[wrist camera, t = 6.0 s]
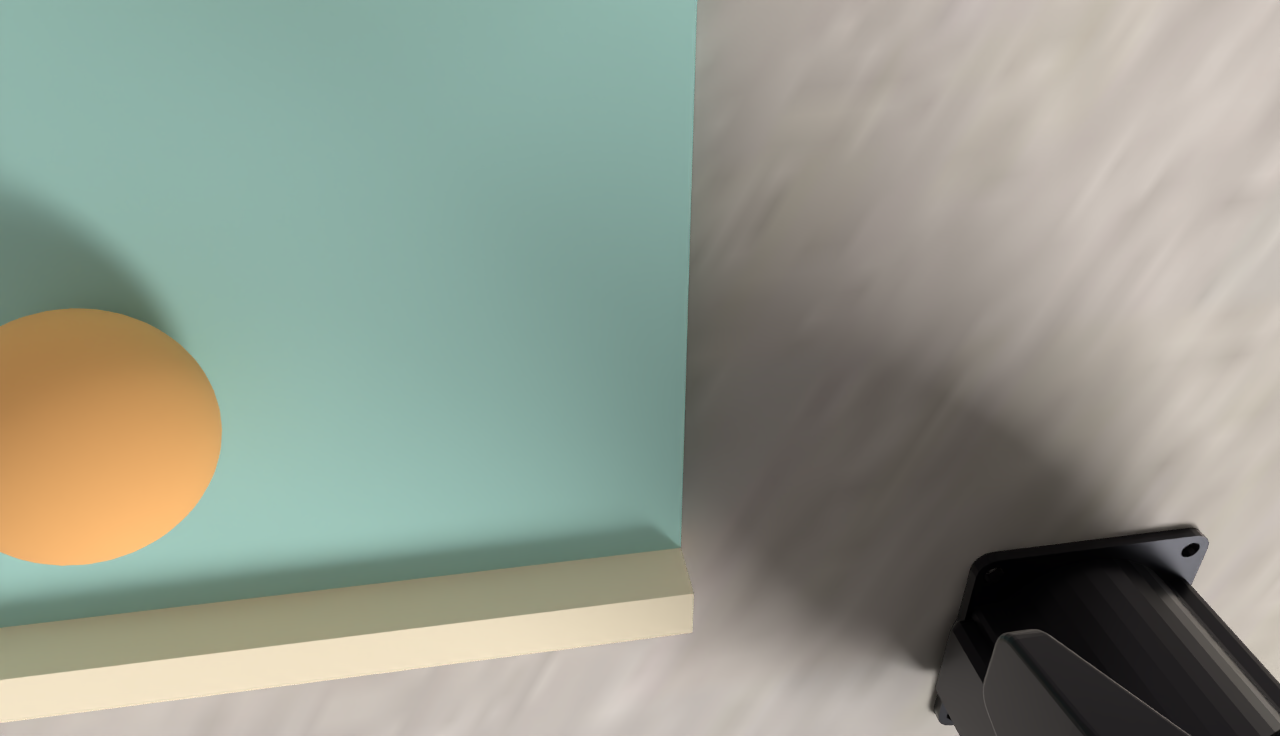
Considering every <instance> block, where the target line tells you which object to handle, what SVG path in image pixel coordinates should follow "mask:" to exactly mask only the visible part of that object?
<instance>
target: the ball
mask: <svg viewBox="0 0 1280 736" xmlns="http://www.w3.org/2000/svg"><path fill="white" fill-rule="evenodd" d="M221 439H222V423H221V415H220V409H219V405H218V402H217V399H216V396H215V392H214V390H213V388H212V386H211V384H210V382H209V380H208V378H207V376H206V374H205V372H204V371H203V370H202V368H201V367H200V365H199V364H198V363H197V361H196V360H195V359H194V358H193V357H192V356H191V355H190V354H189V353H188V352H187V351H186V350H185V349H184V348H183V347H182V346H181V345H180V344H179V343H178V342H176V341H175V340H174V339H172V338H171V337H170V336H168V335H167V334H165V333H164V332H162V331H161V330H159V329H157V328H155V327H153V326H151V325H150V324H148V323H145V322H143V321H140V320H137V319H135V318H132V317H129V316H126V315H124V314H119V313H114V312H110V311H104V310H98V309H84V308H69V309H58V310H50V311H44V312H40V313H36V314H32V315H28V316H24V317H21V318H18V319H16V320H13V321H10V322H8V323H6V324H4V325H2V326H0V552H1V553H4V554H6V555H9V556H12V557H14V558H17V559H20V560H25V561H29V562H33V563H39V564H49V565H59V566H67V565H86V564H93V563H98V562H103V561H108V560H112V559H115V558H118V557H121V556H124V555H127V554H130V553H133V552H135V551H137V550H139V549H142V548H143V547H145V546H147V545H149V544H151V543H153V542H154V541H156V540H158V539H160V538H161V537H162V536H164V535H165V534H167V533H168V532H169V531H171V530H172V529H173V528H174V527H175V526H176V525H178V524H179V523H180V522H181V521H182V520H183V519H184V518H185V517H186V516H187V515H188V514H189V513H190V512H191V511H192V509H193V508H194V507H195V506H196V504H197V503H198V502H199V500H200V499H201V497H202V496H203V494H204V492H205V491H206V489H207V487H208V485H209V484H210V482H211V479H212V477H213V475H214V472H215V469H216V466H217V463H218V459H219V455H220V450H221Z"/></svg>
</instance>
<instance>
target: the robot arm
mask: <svg viewBox="0 0 1280 736" xmlns="http://www.w3.org/2000/svg"><path fill="white" fill-rule="evenodd" d="M1187 545H1188V546H1187ZM1208 545H1209V542H1208V539H1207V538H1206V537H1205V536H1204V535H1203V534H1202V533H1201V532H1200V531H1199V530H1197V529H1196V528H1184V529H1176V530H1168V531H1160V532H1152V533H1144V534H1136V535H1128V536H1120V537H1111V538H1103V539H1095V540H1087V541H1079V542H1071V543H1063V544H1055V545H1047V546H1039V547H1031V548H1023V549H1015V550H1007V551H998V552H992V553H988V554H985V555H983V556H981V557H979V558H978V559H977V560H976V561H975V562H974V563H973V565H972V567H971V569H970V572H969V576H968V580H967V584H966V587H965V591H964V595H963V599H962V603H961V606H960V610H959V614H958V618H957V621H956V622H955V623H954V625H953V627H952V629H951V630H950V634H949V638H948V641H947V645H946V649H945V653H944V657H943V661H942V665H941V669H940V672H939V676H938V680H937V684H936V691H937V693H938V694H937V698H936V702H935V705H934V712H935V714H936V716H937V718H938V720H939V722H940V723H941V724H944V725H954V726H955V728H956V730H957V731H958V733H959V735H960V736H1280V683H1279V682H1278V681H1277V680H1276V679H1275V678H1274V677H1273V675H1272V674H1271V673H1270V672H1269V671H1268V670H1267V669H1266V668H1265V667H1264V665H1263V664H1262V663H1261V662H1260V661H1259V660H1258V659H1257V658H1256V657H1255V656H1254V654H1253V653H1252V652H1251V651H1250V650H1249V649H1248V648H1247V647H1246V646H1245V644H1244V643H1243V642H1242V641H1241V640H1240V639H1239V638H1238V637H1237V636H1236V635H1235V633H1234V632H1233V631H1232V630H1231V629H1230V628H1229V627H1228V626H1227V625H1226V623H1225V622H1224V621H1223V620H1222V619H1221V618H1220V617H1219V616H1218V615H1217V614H1216V612H1215V611H1214V610H1213V609H1212V608H1211V607H1210V606H1209V605H1208V604H1207V602H1206V601H1205V600H1204V599H1203V598H1202V597H1201V596H1200V595H1199V594H1198V593H1197V591H1196V590H1195V589H1194V588H1193V587H1192V586H1191V585H1192V582H1193V580H1194V578H1195V576H1196V573H1197V571H1198V569H1199V567H1200V564H1201V562H1202V560H1203V558H1204V555H1205V553H1206V551H1207V549H1208ZM1186 546H1187V547H1186ZM1184 547H1185V548H1184ZM994 568H996V569H995V570H994V571H993V572H991V573H988V574H987V572H988V571H990V570H991V569H994Z"/></svg>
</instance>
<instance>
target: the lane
mask: <svg viewBox="0 0 1280 736" xmlns="http://www.w3.org/2000/svg"><path fill="white" fill-rule="evenodd" d="M696 19H697V0H0V326H2V325H4V324H6V323H8V322H10V321H13V320H16V319H18V318H21V317H24V316H28V315H32V314H36V313H40V312H44V311H50V310H58V309H69V308H84V309H98V310H104V311H110V312H114V313H119V314H124V315H126V316H129V317H132V318H135V319H137V320H140V321H143V322H145V323H148V324H150V325H151V326H153V327H155V328H157V329H159V330H161V331H162V332H164V333H165V334H167V335H168V336H170V337H171V338H172V339H174V340H175V341H176V342H178V343H179V344H180V345H181V346H182V347H183V348H184V349H185V350H186V351H187V352H188V353H189V354H190V355H191V356H192V357H193V358H194V359H195V360H196V361H197V363H198V364H199V365H200V367H201V368H202V370H203V371H204V372H205V374H206V376H207V378H208V380H209V382H210V384H211V386H212V388H213V390H214V392H215V396H216V399H217V402H218V405H219V409H220V415H221V423H222V439H221V450H220V455H219V459H218V463H217V466H216V469H215V472H214V475H213V477H212V479H211V482H210V484H209V485H208V487H207V489H206V491H205V492H204V494H203V496H202V497H201V499H200V500H199V502H198V503H197V504H196V506H195V507H194V508H193V509H192V511H191V512H190V513H189V514H188V515H187V516H186V517H185V518H184V519H183V520H182V521H181V522H180V523H179V524H178V525H176V526H175V527H174V528H173V529H172V530H171V531H169V532H168V533H167V534H165V535H164V536H162V537H161V538H160V539H158V540H156V541H154V542H153V543H151V544H149V545H147V546H145V547H143V548H142V549H139V550H137V551H135V552H133V553H130V554H127V555H124V556H121V557H118V558H115V559H112V560H108V561H103V562H98V563H93V564H86V565H67V566H59V565H49V564H39V563H33V562H29V561H25V560H20V559H17V558H14V557H12V556H9V555H6V554H4V553H1V552H0V723H4V722H12V721H19V720H27V719H35V718H42V717H50V716H58V715H65V714H73V713H81V712H88V711H96V710H104V709H111V708H119V707H127V706H134V705H142V704H150V703H157V702H165V701H173V700H180V699H188V698H196V697H203V696H211V695H219V694H226V693H234V692H242V691H249V690H257V689H265V688H272V687H280V686H288V685H295V684H303V683H311V682H318V681H326V680H334V679H341V678H349V677H357V676H364V675H372V674H380V673H387V672H395V671H403V670H410V669H418V668H426V667H433V666H441V665H449V664H456V663H464V662H472V661H479V660H487V659H495V658H502V657H510V656H518V655H525V654H533V653H541V652H548V651H556V650H564V649H571V648H579V647H587V646H594V645H602V644H610V643H617V642H625V641H633V640H640V639H648V638H656V637H664V636H671V635H679V634H687V633H692V628H693V604H694V592H693V589H692V585H691V582H690V578H689V575H688V571H687V568H686V564H685V561H684V557H683V554H682V550H681V522H682V489H683V455H684V422H685V388H686V354H687V321H688V287H689V254H690V220H691V187H692V153H693V119H694V86H695V52H696Z"/></svg>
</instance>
